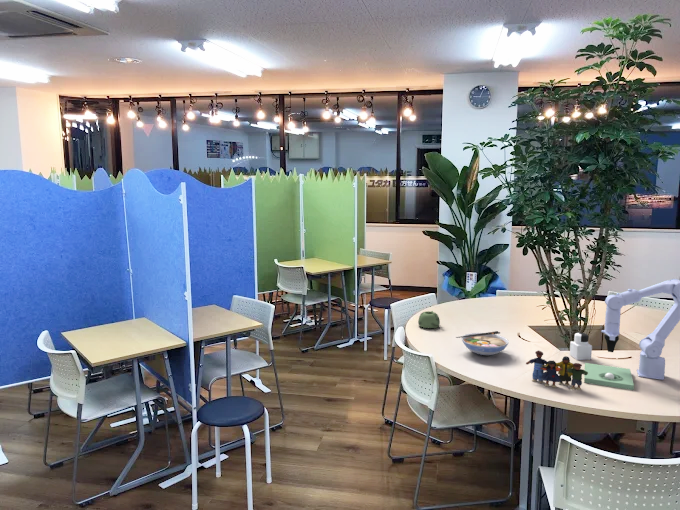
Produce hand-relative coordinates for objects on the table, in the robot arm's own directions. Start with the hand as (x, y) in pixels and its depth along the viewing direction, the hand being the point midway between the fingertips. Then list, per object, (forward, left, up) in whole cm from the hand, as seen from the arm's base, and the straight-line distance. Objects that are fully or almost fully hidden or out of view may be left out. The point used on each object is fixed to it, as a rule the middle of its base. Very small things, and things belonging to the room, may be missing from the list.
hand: (610, 351), depth 217 cm
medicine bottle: (+12, -15, -10) cm, 21 cm away
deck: (+1, +8, -9) cm, 13 cm away
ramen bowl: (+55, -1, -10) cm, 56 cm away
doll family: (+21, +25, -10) cm, 34 cm away
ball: (0, +12, -8) cm, 14 cm away
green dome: (+94, -37, -10) cm, 101 cm away
